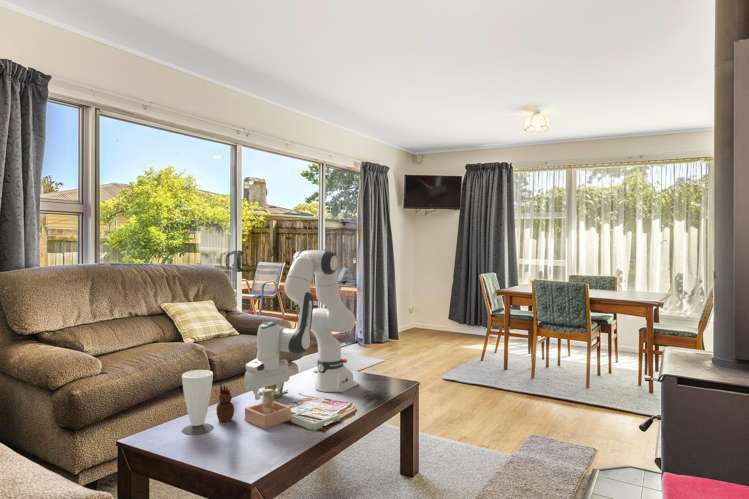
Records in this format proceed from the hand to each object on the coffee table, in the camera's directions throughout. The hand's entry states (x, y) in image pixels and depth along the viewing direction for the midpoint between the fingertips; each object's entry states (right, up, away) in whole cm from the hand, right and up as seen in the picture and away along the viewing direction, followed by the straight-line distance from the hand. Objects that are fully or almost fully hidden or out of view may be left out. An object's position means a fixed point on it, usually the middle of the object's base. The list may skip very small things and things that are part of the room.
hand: (267, 396), depth 201 cm
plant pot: (-3, -9, +30) cm, 32 cm away
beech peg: (0, -10, +1) cm, 10 cm away
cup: (-25, -10, -10) cm, 28 cm away
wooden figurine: (-17, -10, -1) cm, 20 cm away
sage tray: (+19, -10, 0) cm, 22 cm away
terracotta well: (0, -10, +1) cm, 10 cm away
